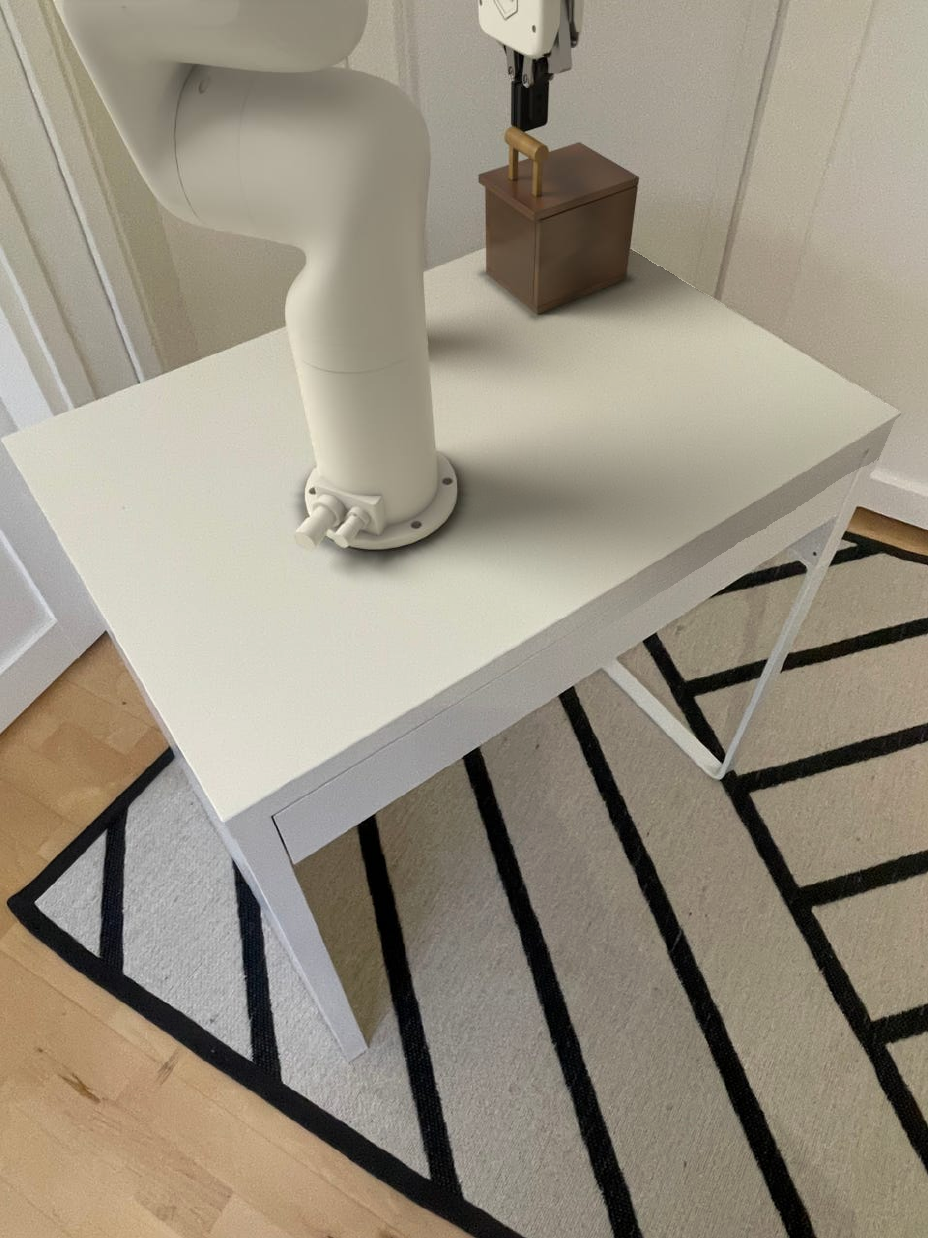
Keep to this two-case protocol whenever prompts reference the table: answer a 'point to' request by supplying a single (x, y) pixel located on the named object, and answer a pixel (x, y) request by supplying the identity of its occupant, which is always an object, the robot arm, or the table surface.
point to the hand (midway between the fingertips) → (529, 125)
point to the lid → (553, 176)
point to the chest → (559, 249)
